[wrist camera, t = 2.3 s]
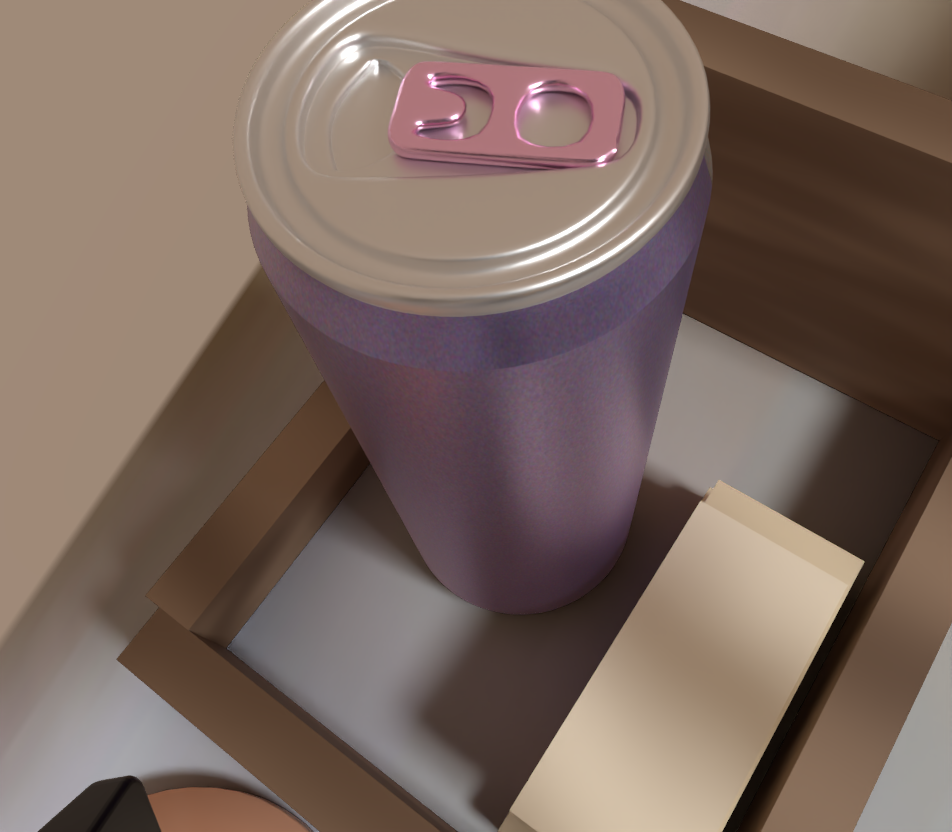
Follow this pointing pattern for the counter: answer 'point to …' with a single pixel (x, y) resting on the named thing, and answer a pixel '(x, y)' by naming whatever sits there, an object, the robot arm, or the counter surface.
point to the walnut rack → (730, 311)
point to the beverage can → (487, 260)
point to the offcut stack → (692, 678)
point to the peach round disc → (220, 812)
